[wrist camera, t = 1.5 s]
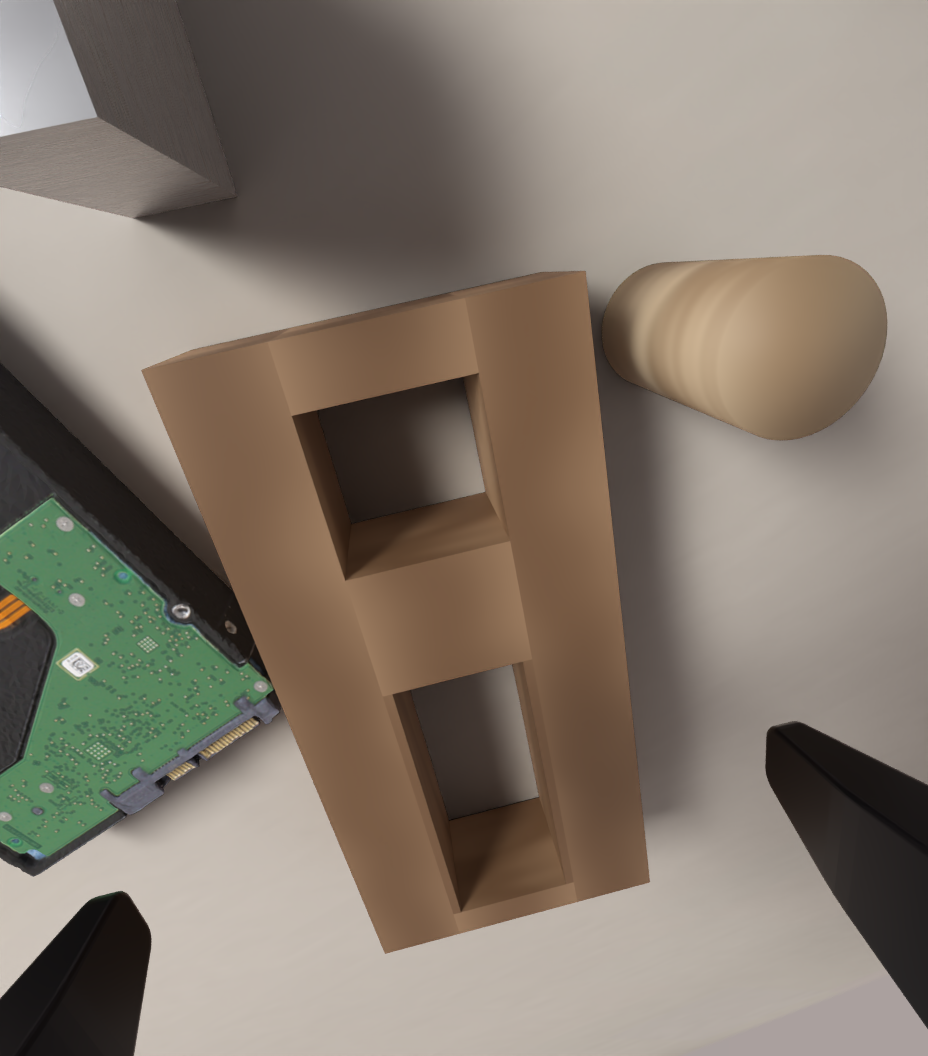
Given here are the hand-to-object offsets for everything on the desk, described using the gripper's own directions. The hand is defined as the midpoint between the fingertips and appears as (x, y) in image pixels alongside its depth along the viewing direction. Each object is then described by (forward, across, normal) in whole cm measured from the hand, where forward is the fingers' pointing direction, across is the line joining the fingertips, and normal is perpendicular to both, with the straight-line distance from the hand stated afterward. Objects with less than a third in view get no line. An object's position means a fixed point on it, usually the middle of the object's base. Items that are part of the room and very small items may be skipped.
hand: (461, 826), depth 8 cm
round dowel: (+10, -8, -4) cm, 14 cm away
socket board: (+10, 0, +3) cm, 11 cm away
